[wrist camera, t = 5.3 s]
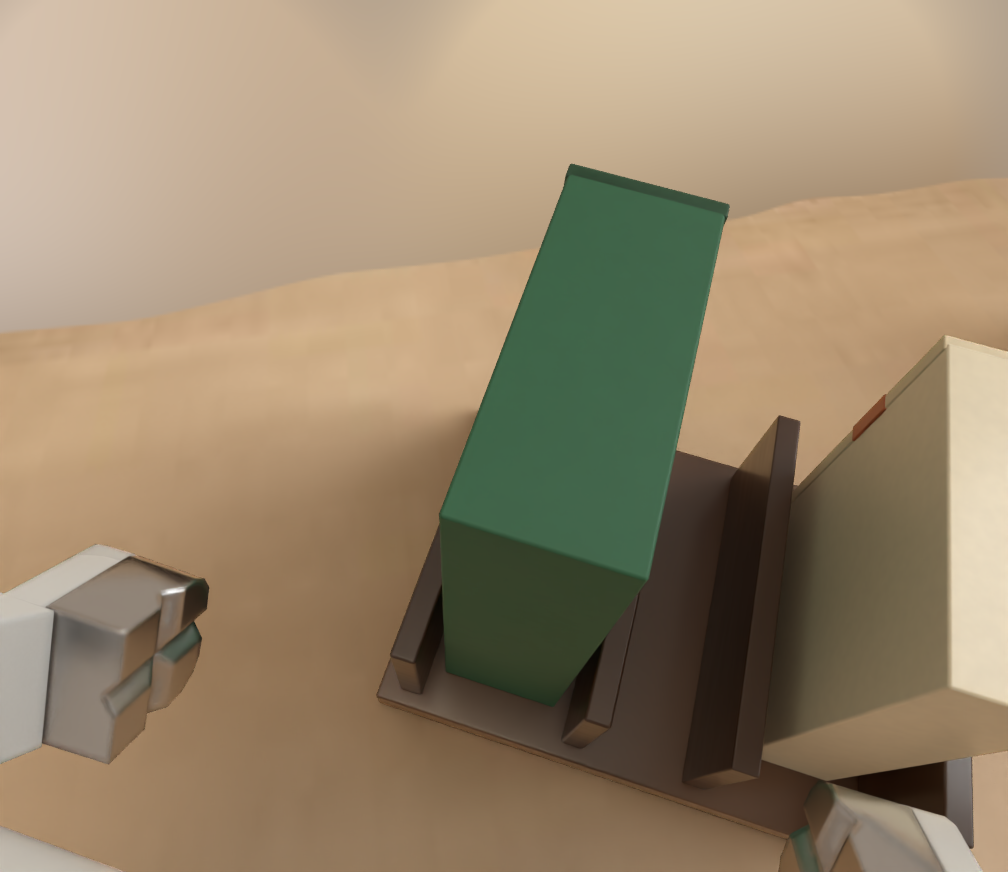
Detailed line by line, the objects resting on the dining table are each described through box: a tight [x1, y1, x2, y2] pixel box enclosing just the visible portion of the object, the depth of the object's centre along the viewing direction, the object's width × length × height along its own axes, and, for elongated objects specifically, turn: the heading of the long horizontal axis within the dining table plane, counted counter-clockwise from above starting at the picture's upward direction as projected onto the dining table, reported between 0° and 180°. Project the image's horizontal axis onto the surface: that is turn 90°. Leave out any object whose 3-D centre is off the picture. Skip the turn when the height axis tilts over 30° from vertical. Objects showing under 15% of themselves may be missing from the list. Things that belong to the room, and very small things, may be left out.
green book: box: [439, 164, 730, 707], centre depth 22 cm, size 4×10×14 cm, turn 163°
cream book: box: [762, 335, 1008, 781], centre depth 22 cm, size 3×9×12 cm, turn 163°
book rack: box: [376, 416, 974, 849], centre depth 26 cm, size 18×13×6 cm
